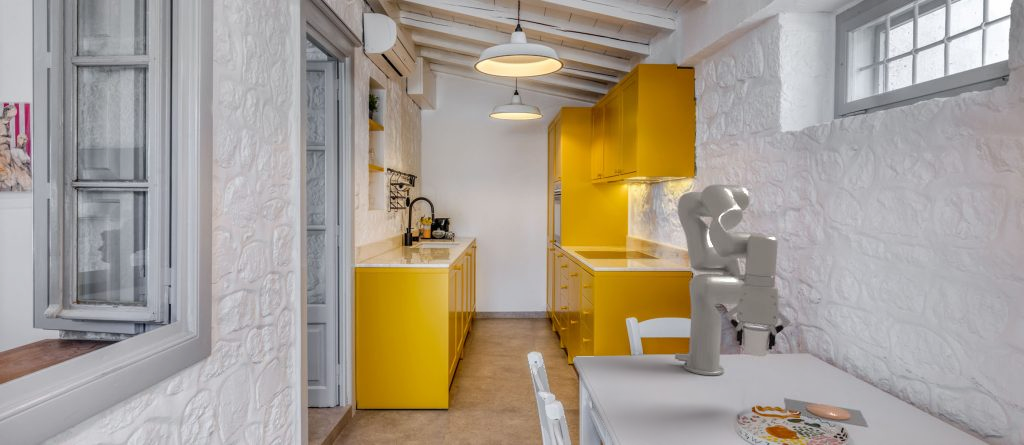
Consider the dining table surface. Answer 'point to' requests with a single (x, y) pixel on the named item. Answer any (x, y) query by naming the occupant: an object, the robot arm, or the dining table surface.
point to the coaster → (828, 412)
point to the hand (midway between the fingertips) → (755, 345)
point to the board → (802, 407)
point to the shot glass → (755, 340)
